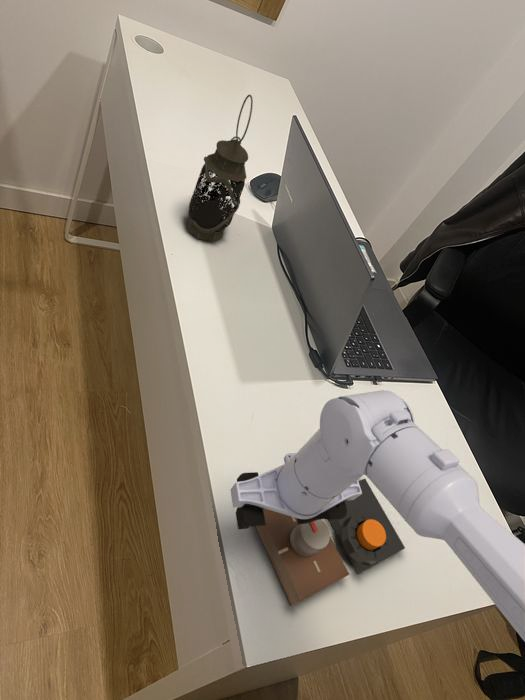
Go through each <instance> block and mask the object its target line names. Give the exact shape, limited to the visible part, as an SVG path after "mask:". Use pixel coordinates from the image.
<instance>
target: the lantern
mask: <svg viewBox="0 0 525 700" xmlns="http://www.w3.org/2000/svg"><path fill="white" fill-rule="evenodd" d="M248 98H250V110H249V115H248V119H247V122H246V123H247V124H246V127H245V130H244V131H243V135H242V137H241V138H240V137H239V136H238V135H239V133H238V132H239V126H240V120H241V117H242V113H243V109H244V106H245V104H246V102H247V100H248ZM253 102H254V101H253V95H251V94H247V95H246V97H245V98H244V100H243V102H242V105H241V107H240V110H239V115H238V117H237V123H236V130H235V136H233V137H232V138H231V139H230V140H218V141H217V142H216V149H215V151H214V152H213V153H211V154H208V155H207V156H206V155H205V156H204V157H203V161H204V164H203V165H202V167H201V170H200V173H199V176H198V178H197V180H196V184H195V186H194V189H193V192H192V196H191V197H190V200H189V204H188V211H187V212H188V213H187V215H188V216H187V217H188V218H187V231H188V233H190V234H191V235H192V236H193V237H195V238H196V239H197V240H201V241H205V242H210V243H216V242H217V241H218V240H221V239H222V238H223V235H224V231H226V229H227V228H228V227H229V226H230V225H231V224H232V221H233V218H234V215H235V213H236V212H237V211H238V209H239V207H240V205H241V197H242V192H243V190H244V188H245V184H246V179H247V172H246V162H248V160H249V154H248V152H247V150H246V149H245V148H244V147H243V146H242V145H241V144H242V141H243V140H244V139H245V136H246V134H247V132H248V129H249V126H250V122H251V119H252V118H251V117H252V113H253V105H254V103H253Z"/></svg>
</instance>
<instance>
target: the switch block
mask: <svg viewBox="0 0 525 700" xmlns="http://www.w3.org/2000/svg"><path fill="white" fill-rule="evenodd" d="M358 482H359V485H360V488H361V491H362V494H361V495H360V496H358V497H357V498H356V499H355V500H345V504H346V507H347V515H346V516H345V517H344V518H343V519H337V520H328V521H329V524H330V525H331V527H332V529H333V531H334V533H335V535H336V537H337V539H338V540H339V542H340V545H341V546H342V548H343V550H344V552H345V554H346V556H347V558H348V559H349V562H350V563H351V565H352V567H353V569H354V571H355V573H356V575H360V574H362V573H363V572H366V571H368V570H369V569H370V568H372V567H375V566H377V564H380V563H382V562H383V561H385V560H387V559H389V558H390V557H392V556H394V555H396V554H398V553H400V552H402V551H403V550H405V549H406V547H405V545H404V543H403V541H402V540H401V538H400V536H399V534H398V533H397V531H396V530H395V528H394V525H393V524H392V523H391V520H390V519H389V518H388V515H387V514H386V512H385V510H384V508H383V507H382V505H381V503H380V502H379V500H378V498H377V497H376V494H375V493H374V491H373V490H372V487H371V486H370V484H369V483H368V481H367V479H366V478H363V479H360V480H358ZM369 519H373V520H376V521H378V522H379V523H380V524H381V525H382V526H383V528H384V530H385V533H386V540H385V543H384V544H383V545H382V546H380V547H378V548H376V549H374V550H368V549H365V548H364V547H363V546H361V544H360V543H359V541H358V539H357V536H356V531H357V528H358V526H359V525H360V524H362V523H363V522H365V521H366V520H369Z"/></svg>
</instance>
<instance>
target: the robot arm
mask: <svg viewBox="0 0 525 700" xmlns="http://www.w3.org/2000/svg"><path fill="white" fill-rule="evenodd" d="M283 462H284V464H282V465H279V466H277V467H275V468H273V469H270V470H268V471H266V472H263V473H262V474H259V472H258V471H255V472H253V471H251V472H243V473H240V474H239V476H238V477H237V478H236V481H235V483H234V484H233V485H232V487H231V488H230V489H229V491H230V497H231V502H232V503H231V504H232V508H233V509H235V508H236V510H235V518H236V526H237V529H238V530H246V529H249V528H250V527H256V526H264V525H266V522H265V517H264V512H263V508H265V509H268V510H272V511H275V512H278V513H282V514H285V515H288V516H291V517H295V518H297V522H298V524H306V523H310V522H313V521H316V520H320V519H321V520H327V521H329V520H337V519H343V518H344V517H345V516H346V515H347V507H346V504H345V500H355V499H356V498H357V497H358V496H360V495H361V494H362V491H361V488H360V485H359V482H358V481H359V479H361V478H362V477H363V476H366V478H367V479H369V481H370V483H372V484H373V485H374V486H375V488H376V489H377V490H378V491H379V492H380V493H381V494H382V496H383V497H384V498H385V499H386V500H387V501H388V503H389V504H390V505H391V506H392V507H393V508H394V510H396V512H397V513H398V514H399V515H400V516H401V517H402V519H403V520H404V521H405V522H406V524H407V525H408V526H409V527H410V529H412V530H413V532H415V534H416V535H417V536H420V537H423V538H429V539H436V540H442V541H444V542H445V543H446V544H447V545H448V547H449V548H450V549H451V550H452V552H453V553H454V554H455V556H457V558H458V560H459V561H460V562H461V563H462V565H463V566H464V567H465V568H466V570H467V571H468V572H469V573H470V575H471V576H472V577H473V578H474V579H475V581H476V582H477V584H478V585H479V586H480V587H481V588H482V591H484V593H485V594H486V595H487V597H489V599H490V600H491V601H492V603H493V604H494V606H496V608H497V609H498V610H499V612H500V613H501V614H502V615H503V617H504V618H505V619H506V620H507V621H508V622H509V624H510V625H511V626H512V628H513V629H514V630H515V632H516V633H517V634H518V635H519V637H520V638H521V640H522V641H524V643H525V543H524V542H523V541H522V540H520V539H519V538H518V537H517V536H516V535H514V534H513V532H511V531H510V530H509V529H508V528H506V527H505V526H504V525H503V524H502V523H501V522H499V521H498V520H497V519H496V518H494V517H493V516H492V515H491V514H490V513H489V512H488V511H486V510H485V509H484V508H482V506H481V502H480V492H479V485H478V482H477V480H476V478H474V477H473V476H472V475H471V474H470V473H469V472H468V471H466V470H465V469H464V467H463V466H461V465H460V464H459V463H460V458H459V457H458V456H457V455H455V454H454V453H453V451H452V450H450V449H449V448H446V449H443V448H442V447H441V446H439V445H438V444H437V443H436V442H435V440H433V439H432V438H431V437H430V436H429V435H428V434H426V433H425V432H424V431H423V430H422V429H421V428H420V427H419V426H418V425H416V421H415V418H414V414H413V411H412V409H411V408H410V406H409V404H408V403H407V402H406V400H404V399H403V398H402V397H400V396H399V395H397V394H396V392H393V391H390V390H385V389H382V390H376V391H369V392H362V393H361V392H360V393H355V394H349V395H342V396H341V395H340V396H338V397H336V398H335V397H334V398H331V399H329V400H328V401H327V402H326V403H325V404H324V405H323V407H322V409H321V412H320V417H319V428H318V429H317V431H316V432H314V434H313V435H312V436H311V437H310V438H309V439H308V440H307V441H306V442H305V443H304V444H303V446H302V447H301V448H300V449H299V450H298V451H297V452H288V453H286V454H285V455H284V457H283Z"/></svg>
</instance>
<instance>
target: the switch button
mask: <svg viewBox="0 0 525 700" xmlns="http://www.w3.org/2000/svg"><path fill="white" fill-rule="evenodd" d="M356 536H357V539H358V541H359V543H360V544H361V546H363V547H364V548H365V549H368V550H374V549H376V548H378V547H380V546H382V545H383V544H384V543H385V540H386V533H385V530H384V528H383V526H382V525H381V524H380V523H379V522H378V521H376V520H373V519H369V520H366V521H365V522H363V523H362V524H360V525H359V526H358V528H357V531H356Z"/></svg>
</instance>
